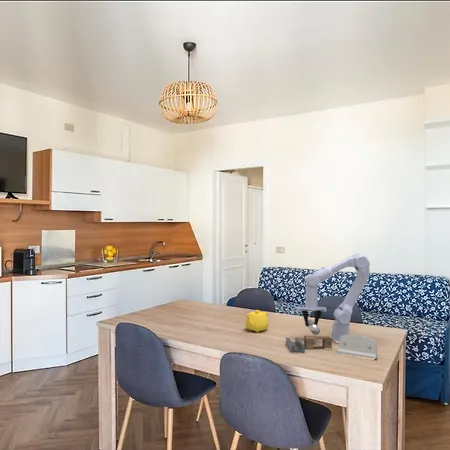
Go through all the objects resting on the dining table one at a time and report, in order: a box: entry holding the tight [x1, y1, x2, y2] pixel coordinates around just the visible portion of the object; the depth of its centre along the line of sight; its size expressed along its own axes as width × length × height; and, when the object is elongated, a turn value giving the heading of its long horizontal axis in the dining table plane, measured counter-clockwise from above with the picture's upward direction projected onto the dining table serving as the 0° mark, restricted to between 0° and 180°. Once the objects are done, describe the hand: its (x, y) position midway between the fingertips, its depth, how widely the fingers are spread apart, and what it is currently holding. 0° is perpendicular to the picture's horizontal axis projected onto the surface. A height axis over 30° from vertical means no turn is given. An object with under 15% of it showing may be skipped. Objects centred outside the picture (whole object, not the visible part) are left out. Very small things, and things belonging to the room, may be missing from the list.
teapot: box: [245, 309, 270, 334], centre depth 207 cm, size 18×11×11 cm, turn 135°
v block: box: [285, 337, 306, 353], centre depth 178 cm, size 12×6×3 cm, turn 3°
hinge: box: [336, 334, 378, 360], centre depth 170 cm, size 17×5×10 cm, turn 63°
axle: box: [306, 319, 321, 336], centre depth 188 cm, size 10×4×4 cm, turn 3°
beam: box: [303, 335, 333, 350], centre depth 179 cm, size 4×12×5 cm, turn 93°
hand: (311, 325), depth 191 cm, fingers closed on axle, 4 cm apart
